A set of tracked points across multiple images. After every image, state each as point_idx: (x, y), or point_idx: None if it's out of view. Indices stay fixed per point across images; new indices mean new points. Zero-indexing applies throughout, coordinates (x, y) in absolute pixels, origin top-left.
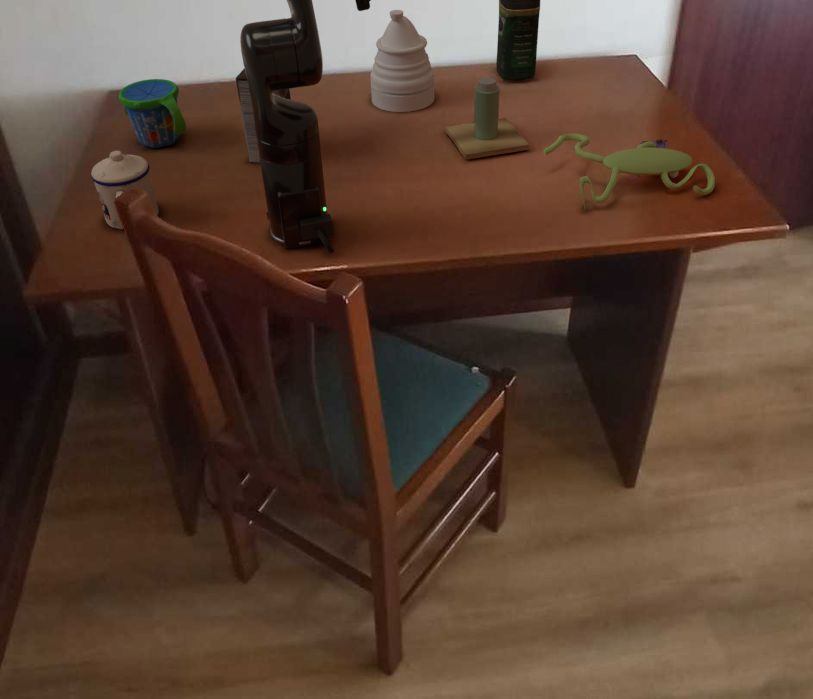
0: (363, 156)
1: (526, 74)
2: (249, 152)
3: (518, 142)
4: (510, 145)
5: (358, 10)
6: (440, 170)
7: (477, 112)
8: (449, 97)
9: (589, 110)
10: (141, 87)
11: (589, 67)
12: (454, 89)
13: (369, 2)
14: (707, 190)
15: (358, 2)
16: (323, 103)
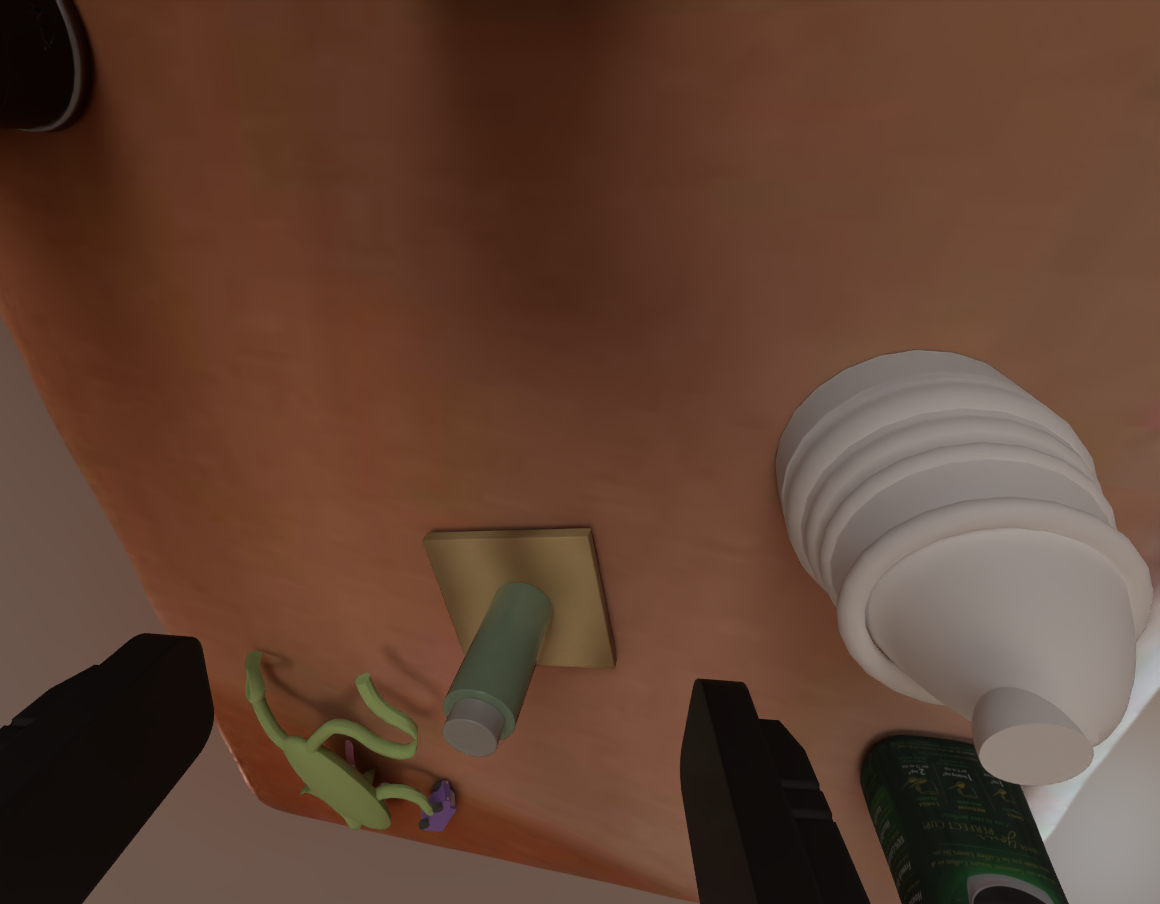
0: (472, 270)
1: (862, 787)
2: None
3: None
4: (464, 632)
5: (146, 634)
6: (388, 466)
7: (480, 638)
8: None
9: (650, 795)
10: None
11: (887, 880)
12: None
13: (175, 780)
14: (314, 795)
15: (21, 714)
16: (1018, 119)
